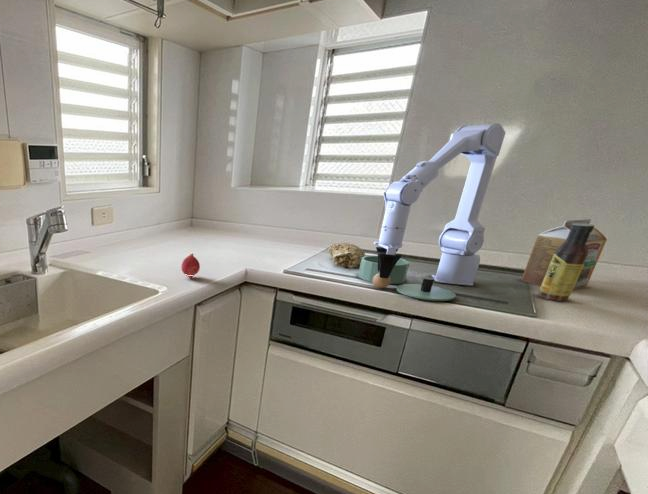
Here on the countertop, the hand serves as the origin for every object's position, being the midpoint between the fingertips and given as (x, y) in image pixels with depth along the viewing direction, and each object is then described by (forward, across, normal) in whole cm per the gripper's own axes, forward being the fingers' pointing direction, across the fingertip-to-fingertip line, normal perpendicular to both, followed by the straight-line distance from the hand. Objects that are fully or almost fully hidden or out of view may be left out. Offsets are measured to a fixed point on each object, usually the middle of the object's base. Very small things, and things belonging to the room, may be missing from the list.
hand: (382, 274), depth 117 cm
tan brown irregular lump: (+4, -31, -10) cm, 33 cm away
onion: (+4, +12, -55) cm, 56 cm away
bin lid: (+3, +2, +11) cm, 12 cm away
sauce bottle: (+4, -8, +42) cm, 43 cm away
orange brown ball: (+4, 0, 0) cm, 4 cm away
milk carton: (+4, -26, +48) cm, 55 cm away
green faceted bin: (+4, -12, +1) cm, 13 cm away
